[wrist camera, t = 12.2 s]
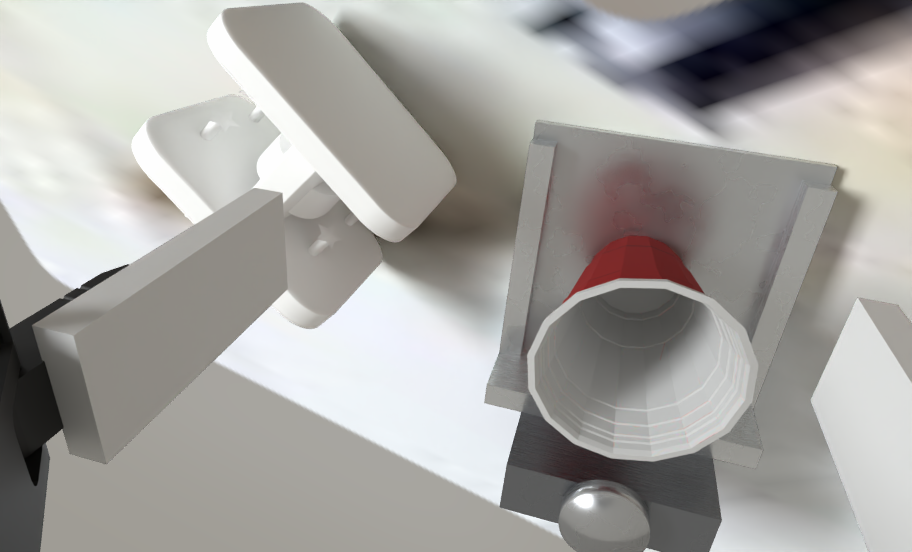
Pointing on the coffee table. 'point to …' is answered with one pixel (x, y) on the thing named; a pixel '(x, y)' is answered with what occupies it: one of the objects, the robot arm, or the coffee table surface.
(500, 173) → the coffee table surface
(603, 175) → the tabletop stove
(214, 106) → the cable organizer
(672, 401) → the plastic cup
